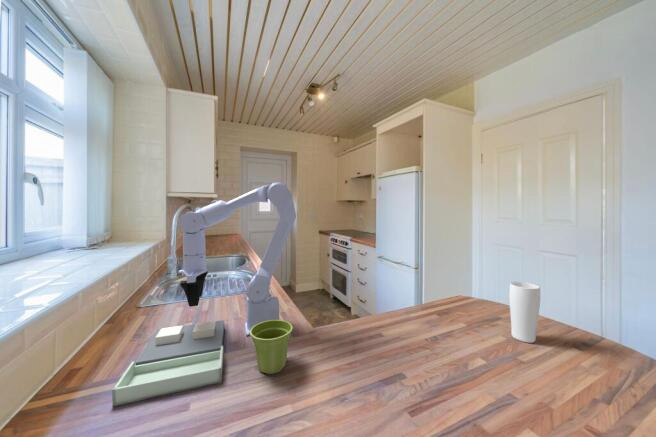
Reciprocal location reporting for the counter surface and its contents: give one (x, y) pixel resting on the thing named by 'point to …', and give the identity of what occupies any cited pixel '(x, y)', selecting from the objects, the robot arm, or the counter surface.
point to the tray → (168, 377)
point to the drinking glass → (524, 310)
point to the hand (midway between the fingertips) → (195, 301)
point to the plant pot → (271, 344)
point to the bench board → (182, 345)
